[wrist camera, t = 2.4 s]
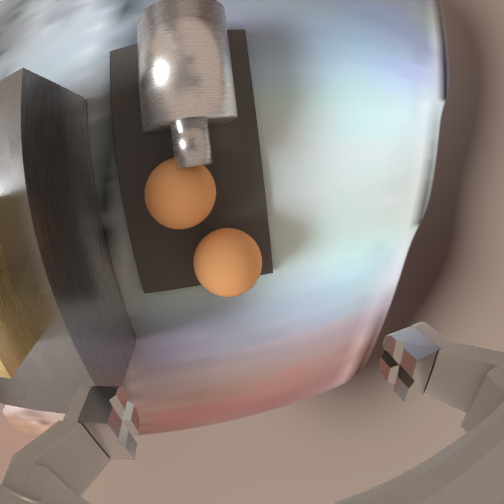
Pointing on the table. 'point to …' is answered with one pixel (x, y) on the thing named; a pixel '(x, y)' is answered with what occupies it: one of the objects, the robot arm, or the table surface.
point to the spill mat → (222, 169)
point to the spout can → (185, 75)
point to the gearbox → (53, 253)
